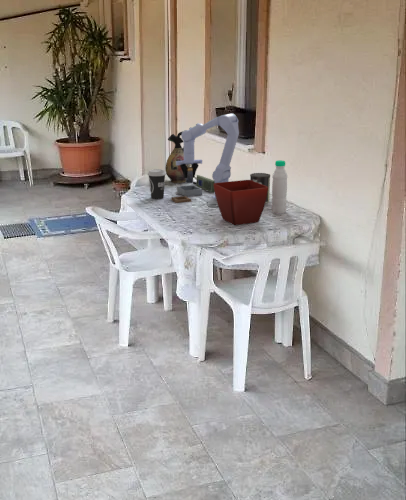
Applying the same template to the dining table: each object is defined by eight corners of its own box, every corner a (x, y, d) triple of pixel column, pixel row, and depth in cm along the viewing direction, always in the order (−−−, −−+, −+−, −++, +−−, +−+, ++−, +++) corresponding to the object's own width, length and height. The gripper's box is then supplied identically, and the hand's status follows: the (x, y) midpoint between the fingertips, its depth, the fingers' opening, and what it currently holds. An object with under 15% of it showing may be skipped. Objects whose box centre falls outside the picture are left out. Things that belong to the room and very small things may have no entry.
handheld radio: (211, 193, 346) (190, 185, 367) (216, 192, 348) (195, 184, 369) (211, 181, 344) (191, 173, 365) (217, 180, 346) (196, 173, 367)
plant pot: (230, 228, 277) (230, 191, 272) (212, 218, 293) (212, 182, 288) (268, 223, 284) (269, 187, 279) (249, 214, 301) (249, 179, 296)
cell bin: (202, 195, 339) (202, 189, 338) (184, 197, 336) (184, 190, 335) (194, 191, 350) (193, 185, 349) (177, 192, 346) (177, 186, 345)
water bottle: (268, 211, 305) (270, 160, 298) (281, 210, 308) (283, 159, 300) (276, 214, 299) (277, 162, 291) (288, 213, 302) (290, 161, 294)
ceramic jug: (167, 184, 367) (165, 133, 358) (164, 179, 382) (163, 130, 372) (195, 183, 369) (195, 132, 360) (192, 178, 384) (191, 129, 375)
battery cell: (194, 182, 340) (194, 166, 337) (186, 183, 338) (186, 167, 335) (191, 180, 343) (191, 165, 340) (184, 181, 342) (184, 165, 339)
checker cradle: (192, 202, 325) (192, 199, 324) (176, 203, 321) (176, 200, 321) (186, 198, 333) (186, 195, 332) (170, 200, 329) (170, 197, 329)
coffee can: (262, 204, 318) (263, 177, 314) (245, 202, 324) (246, 175, 320) (273, 201, 326) (274, 174, 322) (256, 198, 332) (257, 172, 328)
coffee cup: (155, 201, 327) (154, 172, 322) (144, 198, 334) (143, 170, 329) (170, 198, 333) (169, 170, 328) (159, 195, 340) (158, 168, 335)
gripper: (198, 150, 342) (198, 175, 346) (173, 152, 337) (174, 177, 341) (203, 152, 336) (203, 177, 340) (178, 154, 331) (178, 179, 335)
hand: (189, 177), depth 340 cm, fingers closed on battery cell, 4 cm apart
